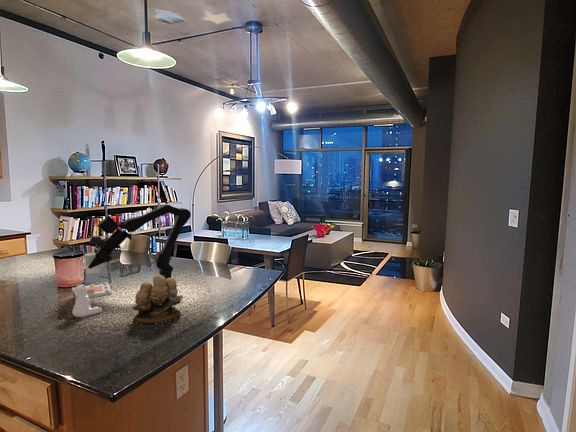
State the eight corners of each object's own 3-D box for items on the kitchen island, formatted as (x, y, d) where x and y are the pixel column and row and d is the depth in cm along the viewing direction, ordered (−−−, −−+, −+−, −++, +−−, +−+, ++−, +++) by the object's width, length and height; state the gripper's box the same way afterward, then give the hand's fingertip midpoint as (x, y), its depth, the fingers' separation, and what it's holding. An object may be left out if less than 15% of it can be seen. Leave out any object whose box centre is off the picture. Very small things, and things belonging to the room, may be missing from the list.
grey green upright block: (98, 278, 164) (97, 253, 163) (99, 281, 160) (98, 255, 158) (86, 279, 161) (85, 254, 160) (86, 282, 157) (85, 256, 156)
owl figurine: (179, 309, 143) (179, 268, 141) (186, 319, 133) (186, 275, 131) (130, 316, 134) (130, 272, 132) (135, 328, 124) (134, 281, 122)
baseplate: (108, 285, 170) (108, 282, 170) (111, 294, 159) (111, 290, 158) (75, 289, 163) (74, 285, 163) (75, 299, 151) (74, 294, 151)
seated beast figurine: (103, 312, 138) (102, 282, 137) (85, 320, 130) (84, 288, 128) (83, 309, 140) (82, 279, 139) (64, 317, 132) (63, 285, 131)
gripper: (99, 226, 168) (73, 251, 163) (102, 232, 152) (73, 259, 147) (118, 241, 173) (93, 266, 168) (122, 248, 157) (95, 275, 152)
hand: (88, 266), depth 159 cm, fingers closed on grey green upright block, 5 cm apart
